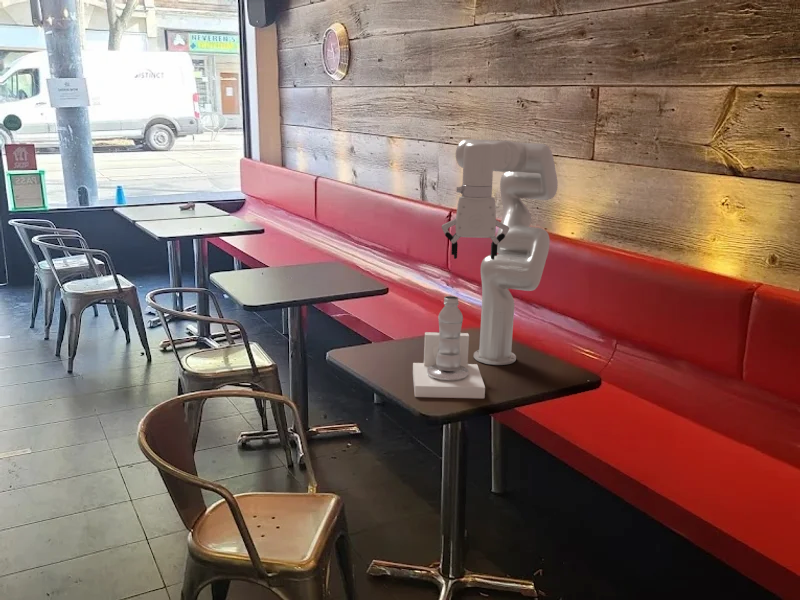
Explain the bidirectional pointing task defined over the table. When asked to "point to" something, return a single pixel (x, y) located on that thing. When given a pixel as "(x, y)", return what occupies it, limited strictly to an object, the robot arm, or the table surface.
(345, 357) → the table surface
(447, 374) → the scale pan
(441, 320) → the plastic bottle
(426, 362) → the scale
